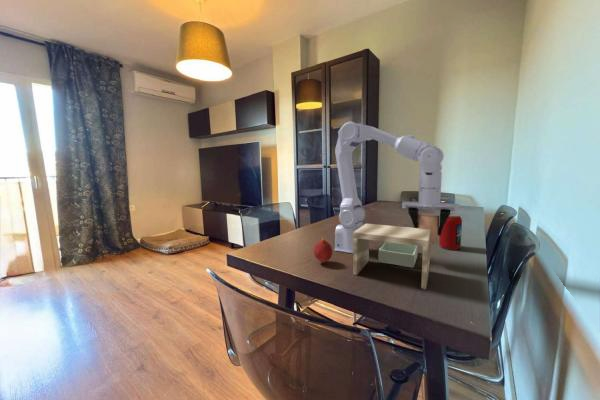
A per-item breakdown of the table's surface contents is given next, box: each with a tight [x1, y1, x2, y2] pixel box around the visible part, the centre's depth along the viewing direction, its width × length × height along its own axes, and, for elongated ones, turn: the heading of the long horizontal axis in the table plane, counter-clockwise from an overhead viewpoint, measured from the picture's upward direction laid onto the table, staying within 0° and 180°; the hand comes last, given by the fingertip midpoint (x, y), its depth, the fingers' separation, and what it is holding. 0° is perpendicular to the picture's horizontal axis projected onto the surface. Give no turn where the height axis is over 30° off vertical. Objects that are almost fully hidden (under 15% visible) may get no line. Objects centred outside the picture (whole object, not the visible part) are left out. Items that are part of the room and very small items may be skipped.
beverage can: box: [438, 212, 463, 250], centre depth 88 cm, size 7×7×12 cm
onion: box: [313, 237, 333, 264], centre depth 77 cm, size 6×6×8 cm
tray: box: [377, 242, 419, 268], centre depth 80 cm, size 10×15×4 cm, turn 149°
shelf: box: [352, 223, 431, 290], centre depth 68 cm, size 18×12×12 cm, turn 59°
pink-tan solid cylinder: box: [418, 213, 440, 245], centre depth 74 cm, size 6×6×8 cm
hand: (427, 233), depth 74 cm, fingers closed on pink-tan solid cylinder, 6 cm apart
